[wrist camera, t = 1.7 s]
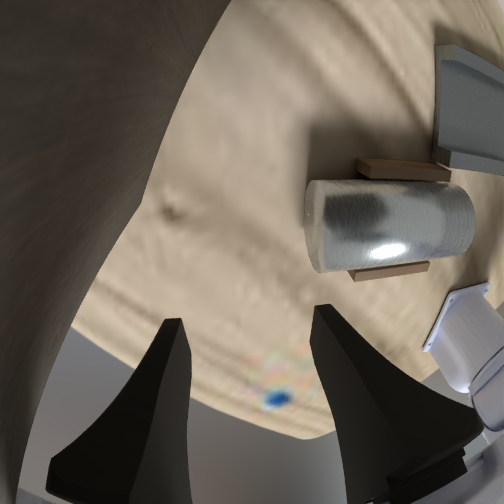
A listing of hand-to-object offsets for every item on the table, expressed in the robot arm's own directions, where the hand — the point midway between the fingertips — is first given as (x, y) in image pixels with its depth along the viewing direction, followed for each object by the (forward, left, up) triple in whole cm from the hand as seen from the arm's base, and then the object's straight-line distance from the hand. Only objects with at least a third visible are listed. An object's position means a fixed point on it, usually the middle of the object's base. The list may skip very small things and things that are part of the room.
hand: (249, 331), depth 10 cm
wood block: (+19, +11, -10) cm, 24 cm away
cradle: (+9, -20, -9) cm, 23 cm away
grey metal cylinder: (0, -10, -10) cm, 14 cm away
